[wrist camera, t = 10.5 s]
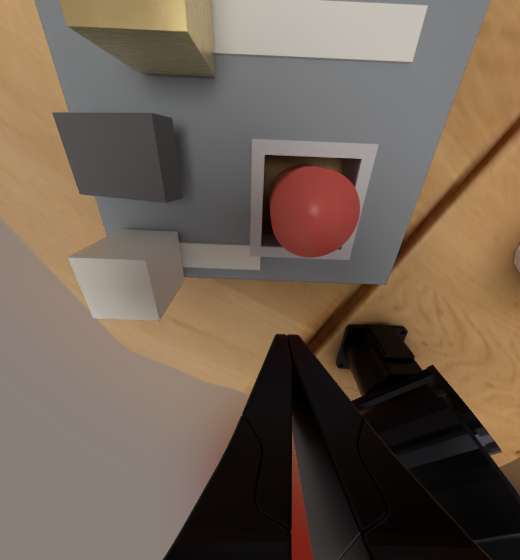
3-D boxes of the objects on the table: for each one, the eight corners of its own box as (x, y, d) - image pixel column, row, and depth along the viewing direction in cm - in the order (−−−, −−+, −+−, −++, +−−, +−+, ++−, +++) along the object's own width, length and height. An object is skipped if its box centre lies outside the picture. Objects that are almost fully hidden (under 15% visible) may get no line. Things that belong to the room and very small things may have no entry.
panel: (370, 268, 21) (387, 286, 18) (137, 259, 21) (117, 276, 18) (454, 1, 13) (510, -43, 10) (66, -18, 13) (8, -68, 10)
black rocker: (182, 198, 14) (166, 203, 12) (102, 190, 15) (80, 194, 14) (172, 117, 12) (151, 112, 10) (81, 117, 13) (52, 112, 12)
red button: (326, 231, 19) (348, 259, 14) (267, 229, 19) (268, 256, 14) (338, 165, 16) (371, 170, 12) (270, 162, 16) (274, 166, 11)
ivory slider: (184, 280, 18) (159, 320, 14) (134, 278, 18) (93, 318, 14) (177, 231, 16) (145, 260, 12) (121, 229, 16) (67, 257, 12)
